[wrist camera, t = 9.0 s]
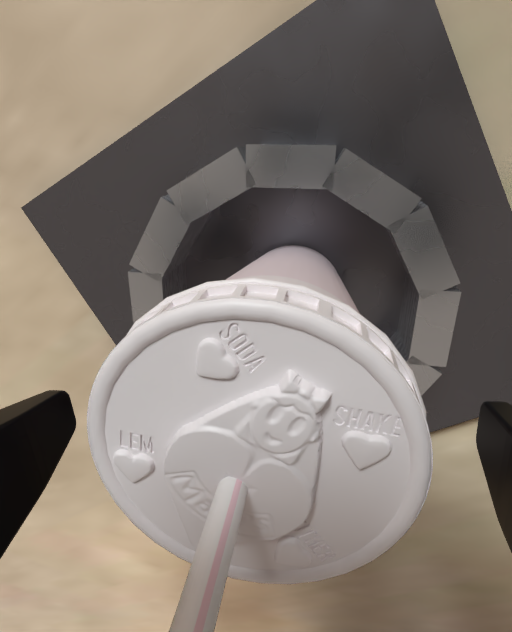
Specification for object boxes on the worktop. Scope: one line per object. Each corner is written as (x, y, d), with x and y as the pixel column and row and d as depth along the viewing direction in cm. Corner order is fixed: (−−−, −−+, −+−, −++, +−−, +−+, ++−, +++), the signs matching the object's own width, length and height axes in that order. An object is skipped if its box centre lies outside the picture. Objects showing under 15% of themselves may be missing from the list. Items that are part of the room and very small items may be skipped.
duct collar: (407, -58, 12) (429, -116, 10) (569, 379, 16) (616, 426, 14) (29, 206, 17) (-27, 217, 15) (224, 490, 21) (208, 541, 19)
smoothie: (186, 314, 18) (-204, 774, 5) (262, 173, 15) (-146, 343, 2) (318, 391, 18) (286, 1016, 5) (414, 266, 15) (845, 890, 2)
